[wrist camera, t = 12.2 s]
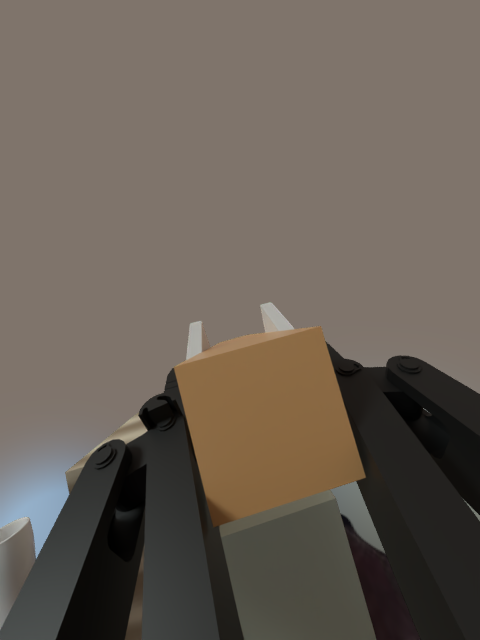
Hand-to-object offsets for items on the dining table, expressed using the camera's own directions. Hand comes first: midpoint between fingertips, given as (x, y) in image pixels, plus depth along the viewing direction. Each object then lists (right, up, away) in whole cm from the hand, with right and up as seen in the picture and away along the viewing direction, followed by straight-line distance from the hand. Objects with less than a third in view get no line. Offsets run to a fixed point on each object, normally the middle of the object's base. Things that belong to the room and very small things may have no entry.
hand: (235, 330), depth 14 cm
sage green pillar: (+9, -39, +13) cm, 42 cm away
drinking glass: (-38, -52, +23) cm, 69 cm away
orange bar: (+1, -5, +3) cm, 6 cm away
